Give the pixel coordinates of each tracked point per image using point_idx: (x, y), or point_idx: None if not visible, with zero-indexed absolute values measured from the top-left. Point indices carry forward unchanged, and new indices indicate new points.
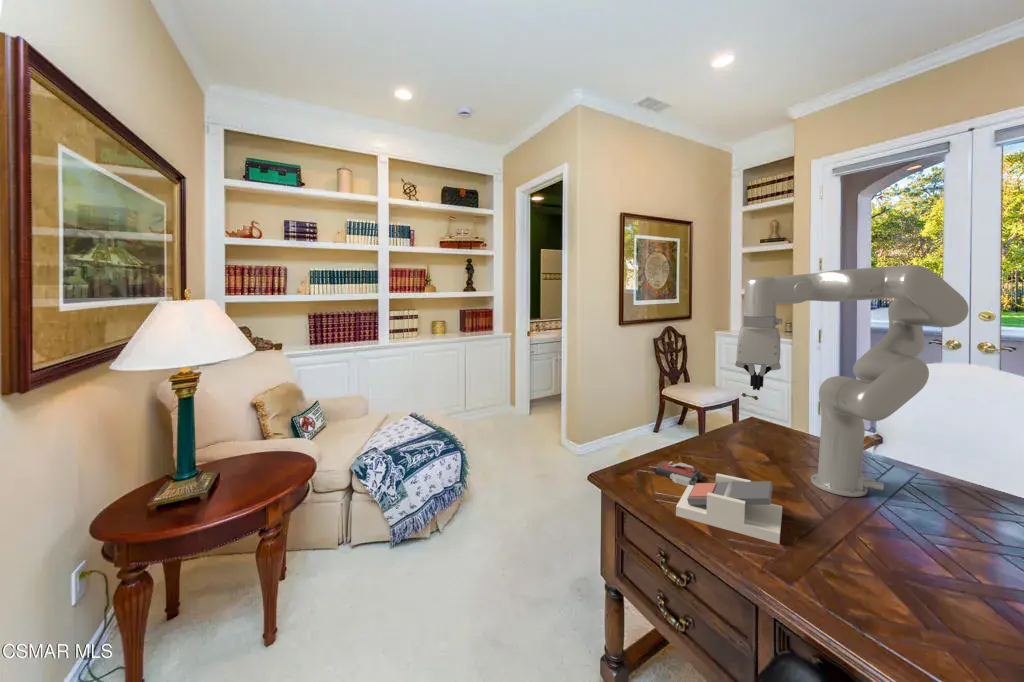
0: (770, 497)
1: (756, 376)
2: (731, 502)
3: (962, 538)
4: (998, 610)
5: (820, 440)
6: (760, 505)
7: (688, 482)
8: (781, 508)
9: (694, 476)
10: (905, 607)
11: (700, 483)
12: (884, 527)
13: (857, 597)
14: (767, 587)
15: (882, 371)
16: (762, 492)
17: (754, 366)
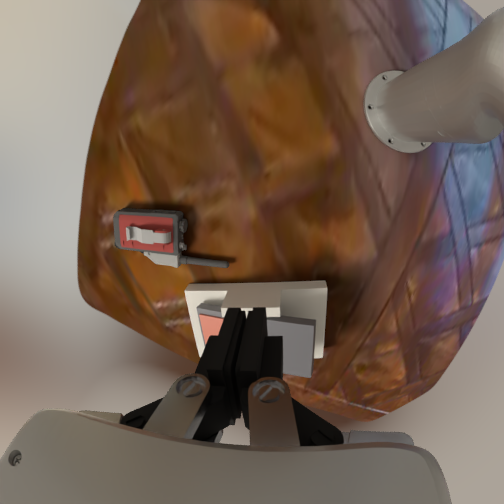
0: (313, 359)
1: (238, 409)
2: None
3: (494, 216)
4: (462, 336)
5: (412, 99)
6: (297, 303)
7: (178, 266)
8: (326, 295)
9: (178, 249)
10: (404, 372)
11: (203, 310)
12: (440, 236)
13: (374, 381)
14: (309, 404)
15: None
16: (302, 361)
17: (191, 429)
